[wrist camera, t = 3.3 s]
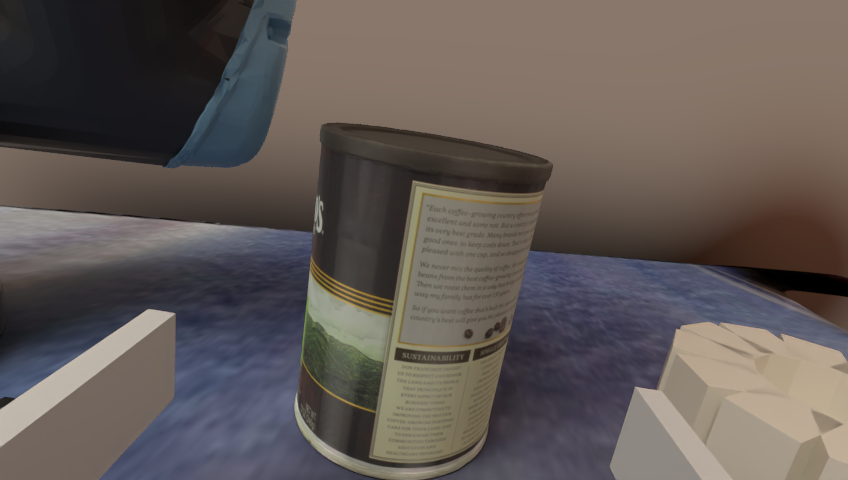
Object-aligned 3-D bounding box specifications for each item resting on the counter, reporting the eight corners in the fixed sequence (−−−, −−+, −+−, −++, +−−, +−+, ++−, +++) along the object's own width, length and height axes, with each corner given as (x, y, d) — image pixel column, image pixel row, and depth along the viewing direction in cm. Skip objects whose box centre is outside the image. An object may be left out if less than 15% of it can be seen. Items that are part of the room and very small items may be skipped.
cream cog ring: (753, 589, 18) (803, 482, 16) (611, 373, 32) (632, 308, 31) (1135, 648, 18) (1216, 548, 17) (824, 408, 32) (853, 344, 31)
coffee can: (253, 449, 20) (277, 121, 17) (335, 342, 30) (361, 121, 26) (486, 512, 19) (569, 173, 15) (492, 379, 29) (544, 153, 25)
